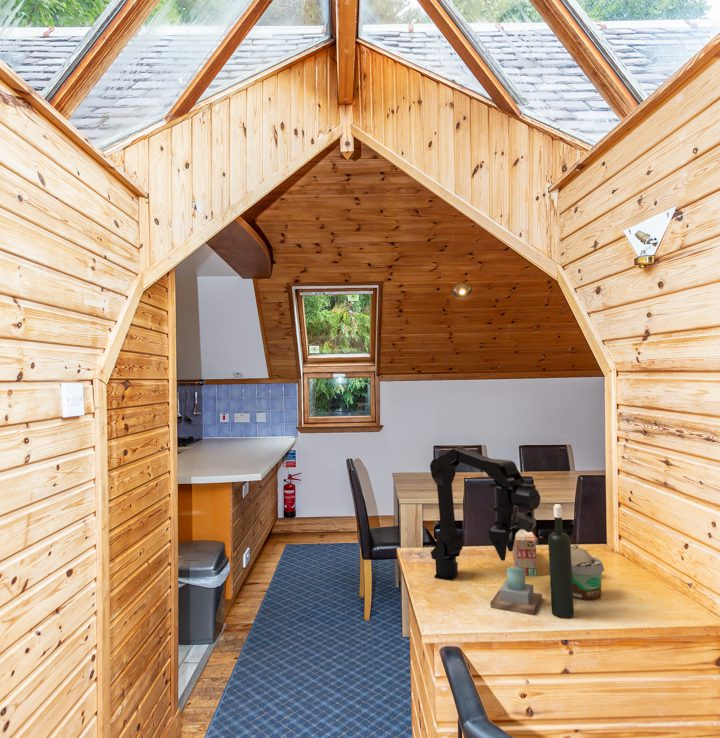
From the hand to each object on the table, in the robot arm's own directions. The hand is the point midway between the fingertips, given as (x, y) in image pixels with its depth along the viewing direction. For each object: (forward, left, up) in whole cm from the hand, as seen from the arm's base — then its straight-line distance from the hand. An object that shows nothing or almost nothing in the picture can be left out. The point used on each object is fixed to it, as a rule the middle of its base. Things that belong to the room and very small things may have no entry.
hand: (506, 555), depth 158 cm
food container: (+22, +10, -13) cm, 27 cm away
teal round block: (+3, -3, -8) cm, 9 cm away
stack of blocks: (-2, +30, -13) cm, 33 cm away
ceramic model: (+16, +28, -13) cm, 34 cm away
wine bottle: (+16, -5, -13) cm, 21 cm away
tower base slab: (+3, -3, -13) cm, 14 cm away
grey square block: (+3, -3, -11) cm, 12 cm away
